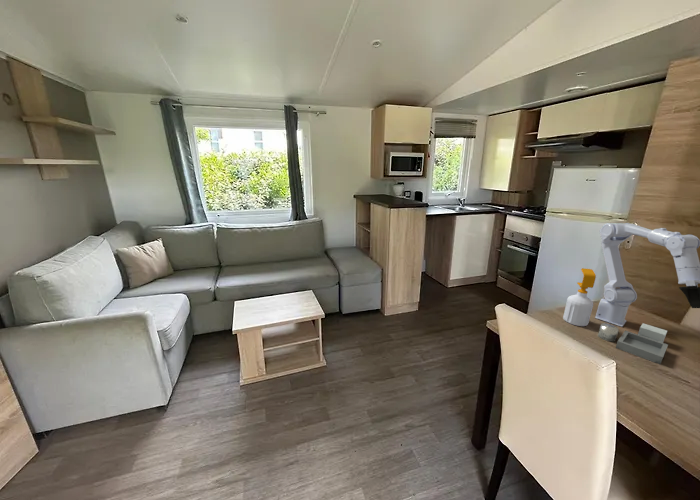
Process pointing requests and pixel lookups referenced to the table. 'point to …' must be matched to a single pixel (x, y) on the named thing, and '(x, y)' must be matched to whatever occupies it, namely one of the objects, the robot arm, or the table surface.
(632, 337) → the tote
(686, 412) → the table surface
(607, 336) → the metal can
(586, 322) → the soap bottle
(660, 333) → the pale upright block
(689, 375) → the table surface
